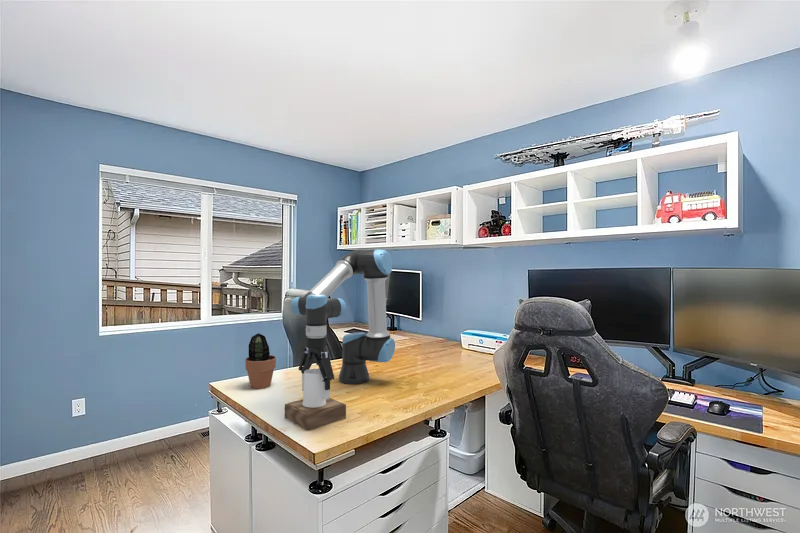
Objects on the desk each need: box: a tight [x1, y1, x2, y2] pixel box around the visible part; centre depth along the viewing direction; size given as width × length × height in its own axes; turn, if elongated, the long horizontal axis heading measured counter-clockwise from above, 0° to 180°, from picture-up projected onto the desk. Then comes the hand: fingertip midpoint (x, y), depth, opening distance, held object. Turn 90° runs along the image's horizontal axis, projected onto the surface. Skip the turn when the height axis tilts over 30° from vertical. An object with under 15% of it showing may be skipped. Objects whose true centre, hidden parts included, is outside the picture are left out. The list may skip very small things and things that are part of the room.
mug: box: [302, 368, 326, 408], centre depth 142 cm, size 12×8×12 cm
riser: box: [284, 397, 347, 431], centre depth 142 cm, size 16×16×5 cm
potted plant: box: [244, 333, 277, 390], centre depth 180 cm, size 14×14×25 cm
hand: (315, 394), depth 142 cm, fingers open, 13 cm apart
